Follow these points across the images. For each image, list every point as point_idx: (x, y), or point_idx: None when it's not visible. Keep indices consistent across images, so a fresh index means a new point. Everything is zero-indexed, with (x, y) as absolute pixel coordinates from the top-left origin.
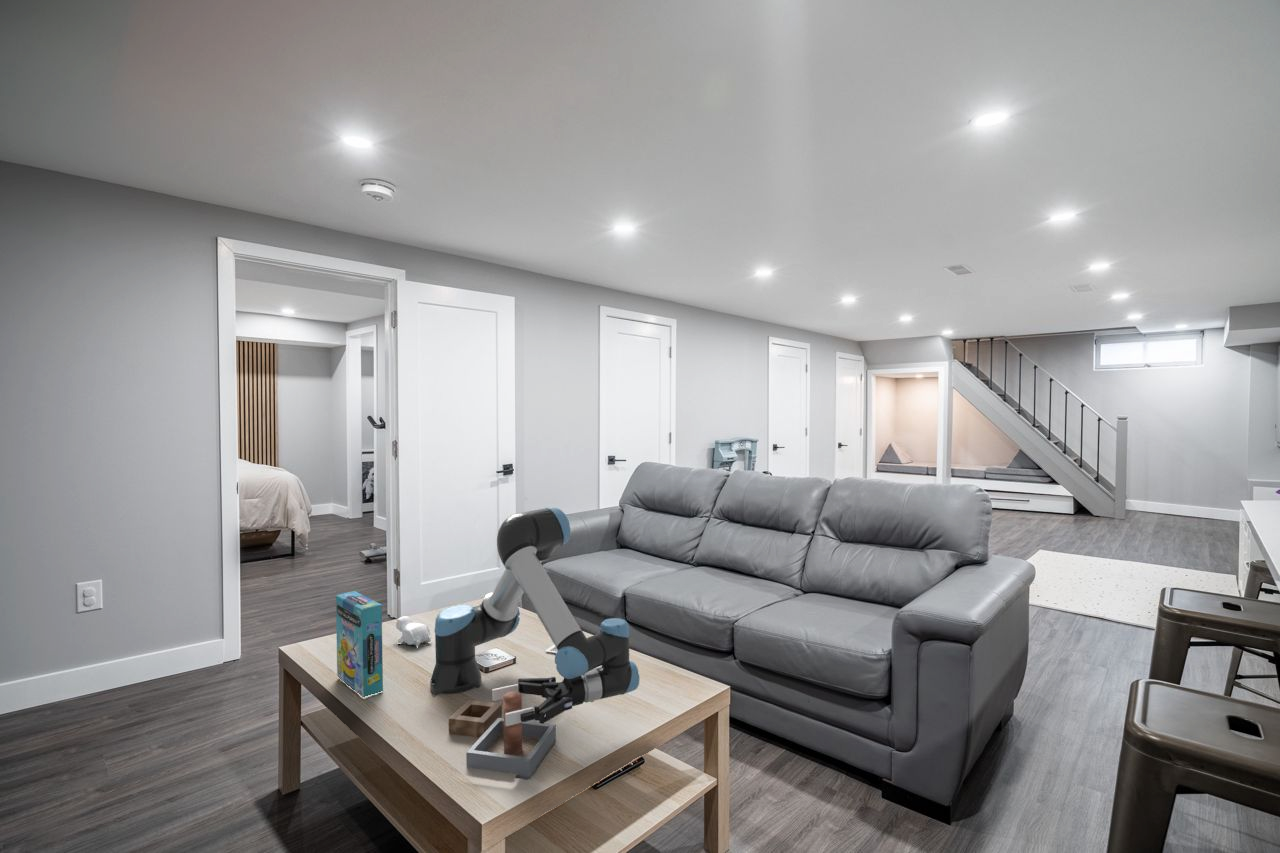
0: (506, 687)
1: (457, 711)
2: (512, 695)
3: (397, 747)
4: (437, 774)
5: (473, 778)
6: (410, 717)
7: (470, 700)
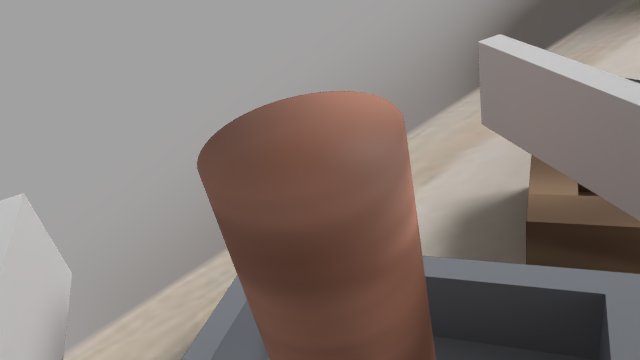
0: (559, 74)
1: None
2: (303, 135)
3: (448, 111)
4: None
5: None
6: (637, 72)
7: None
